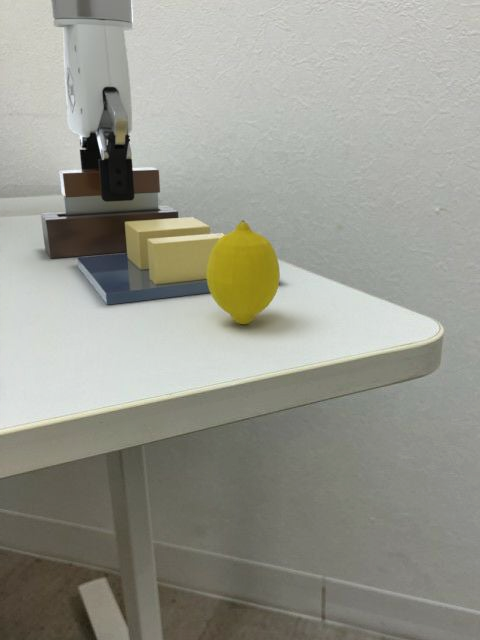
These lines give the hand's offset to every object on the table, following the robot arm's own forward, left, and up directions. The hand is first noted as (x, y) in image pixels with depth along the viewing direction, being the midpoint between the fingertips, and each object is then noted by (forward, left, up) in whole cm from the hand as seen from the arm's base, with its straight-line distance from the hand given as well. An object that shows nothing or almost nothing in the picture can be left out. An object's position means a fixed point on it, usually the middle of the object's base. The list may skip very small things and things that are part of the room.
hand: (107, 193), depth 71 cm
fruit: (+4, -28, -6) cm, 29 cm away
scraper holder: (0, 0, -6) cm, 6 cm away
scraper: (0, 0, -6) cm, 6 cm away
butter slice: (+3, -18, -5) cm, 19 cm away
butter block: (+3, -11, -5) cm, 13 cm away
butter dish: (+3, -13, -6) cm, 15 cm away
